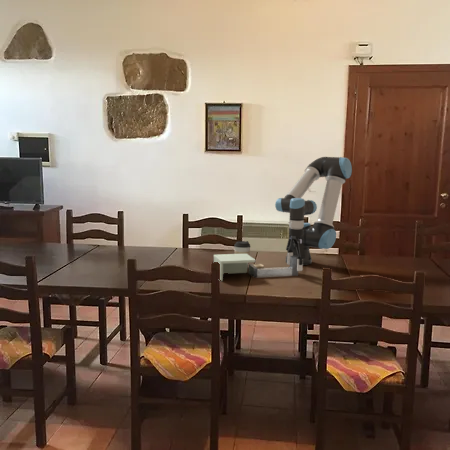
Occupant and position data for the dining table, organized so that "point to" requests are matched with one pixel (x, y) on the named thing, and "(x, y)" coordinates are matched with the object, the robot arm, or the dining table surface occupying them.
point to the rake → (275, 270)
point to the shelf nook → (233, 263)
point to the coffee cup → (242, 248)
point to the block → (258, 265)
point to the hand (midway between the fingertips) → (294, 267)
